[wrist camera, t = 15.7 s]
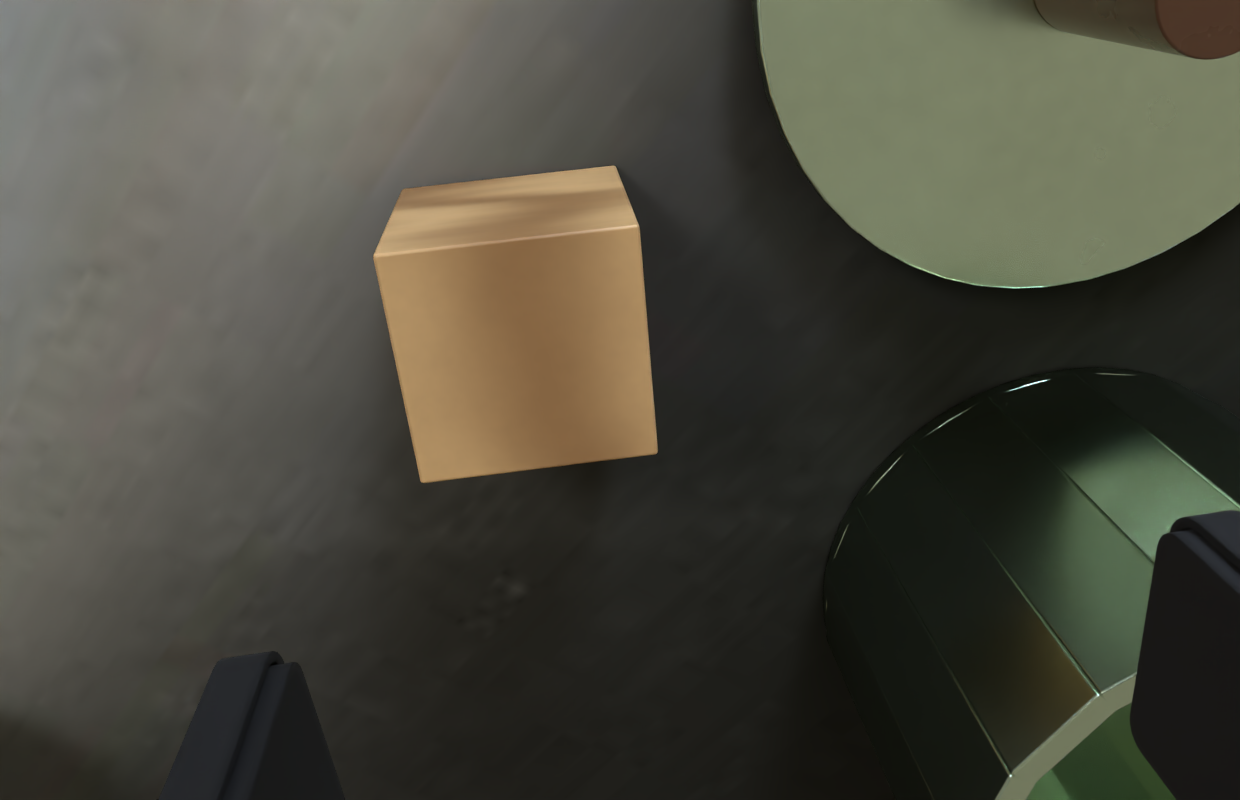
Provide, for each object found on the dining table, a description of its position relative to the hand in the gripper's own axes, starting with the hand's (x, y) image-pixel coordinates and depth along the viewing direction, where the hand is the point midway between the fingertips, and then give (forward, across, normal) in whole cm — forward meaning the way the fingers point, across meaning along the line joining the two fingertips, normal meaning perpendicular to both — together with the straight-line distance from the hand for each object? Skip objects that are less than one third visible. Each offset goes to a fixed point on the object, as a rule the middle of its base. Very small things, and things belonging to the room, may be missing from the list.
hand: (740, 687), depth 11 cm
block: (+17, +2, +1) cm, 17 cm away
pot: (+17, -13, +13) cm, 25 cm away
